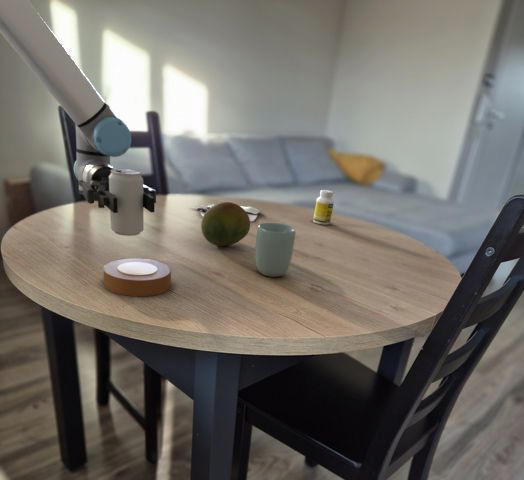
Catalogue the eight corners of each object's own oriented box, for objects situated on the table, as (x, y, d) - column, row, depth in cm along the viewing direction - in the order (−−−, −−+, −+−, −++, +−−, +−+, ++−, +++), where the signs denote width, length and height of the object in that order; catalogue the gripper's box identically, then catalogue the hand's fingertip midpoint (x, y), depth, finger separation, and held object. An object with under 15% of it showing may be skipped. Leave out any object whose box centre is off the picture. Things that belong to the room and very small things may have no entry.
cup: (295, 279, 102) (302, 232, 97) (261, 280, 99) (266, 232, 94) (280, 267, 108) (285, 222, 103) (247, 268, 105) (252, 222, 100)
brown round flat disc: (93, 291, 85) (92, 274, 83) (117, 269, 95) (117, 254, 94) (160, 300, 84) (160, 283, 83) (177, 277, 95) (177, 262, 93)
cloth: (266, 212, 157) (267, 205, 156) (246, 225, 138) (247, 217, 137) (208, 202, 161) (209, 195, 160) (181, 214, 142) (181, 205, 141)
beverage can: (107, 228, 99) (104, 167, 93) (138, 227, 102) (137, 168, 96) (115, 237, 94) (113, 173, 88) (147, 236, 97) (147, 173, 91)
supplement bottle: (327, 226, 149) (332, 193, 145) (310, 222, 151) (315, 190, 146) (332, 223, 154) (337, 191, 149) (316, 219, 155) (321, 188, 151)
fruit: (249, 241, 124) (253, 201, 119) (245, 255, 113) (249, 212, 108) (205, 235, 124) (207, 196, 120) (196, 249, 113) (198, 205, 108)
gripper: (146, 198, 114) (182, 223, 97) (59, 199, 105) (82, 226, 88) (145, 165, 111) (183, 185, 94) (56, 162, 102) (79, 184, 84)
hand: (134, 205), depth 91 cm, fingers closed on beverage can, 6 cm apart
